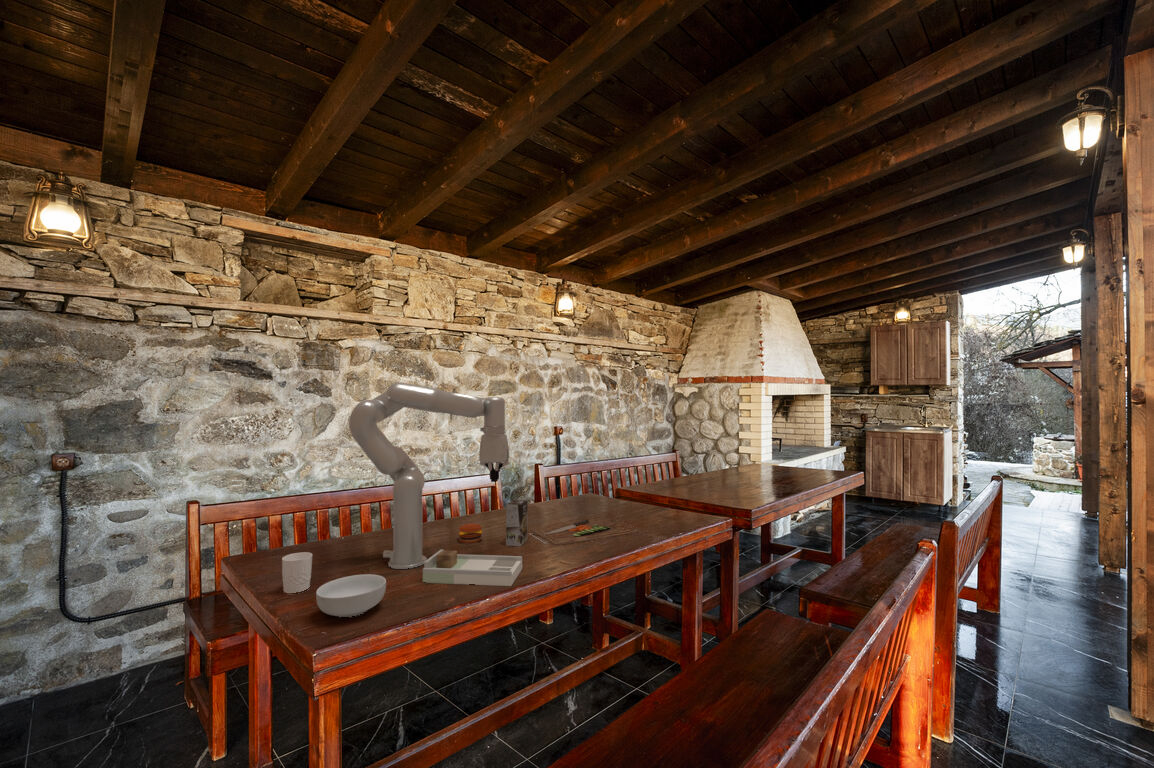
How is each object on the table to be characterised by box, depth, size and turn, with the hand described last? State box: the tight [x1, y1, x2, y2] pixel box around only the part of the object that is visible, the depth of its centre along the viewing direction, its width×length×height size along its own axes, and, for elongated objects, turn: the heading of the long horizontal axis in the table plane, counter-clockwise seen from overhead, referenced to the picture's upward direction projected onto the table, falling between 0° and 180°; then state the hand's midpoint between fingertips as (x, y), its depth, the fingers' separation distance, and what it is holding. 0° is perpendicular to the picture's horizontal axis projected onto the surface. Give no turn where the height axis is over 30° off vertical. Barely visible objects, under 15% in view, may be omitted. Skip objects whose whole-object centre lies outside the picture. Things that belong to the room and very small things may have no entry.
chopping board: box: [528, 518, 638, 546], centre depth 205 cm, size 45×27×3 cm, turn 119°
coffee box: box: [505, 499, 529, 547], centre depth 189 cm, size 9×6×16 cm
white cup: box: [281, 551, 313, 593], centre depth 142 cm, size 8×8×10 cm
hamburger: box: [458, 522, 483, 544], centre depth 193 cm, size 9×10×7 cm
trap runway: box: [422, 549, 523, 587], centre depth 153 cm, size 28×15×6 cm, turn 83°
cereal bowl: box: [315, 573, 387, 618], centre depth 127 cm, size 17×17×7 cm
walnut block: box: [436, 549, 458, 568], centre depth 154 cm, size 5×5×4 cm
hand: (494, 481), depth 173 cm, fingers closed
